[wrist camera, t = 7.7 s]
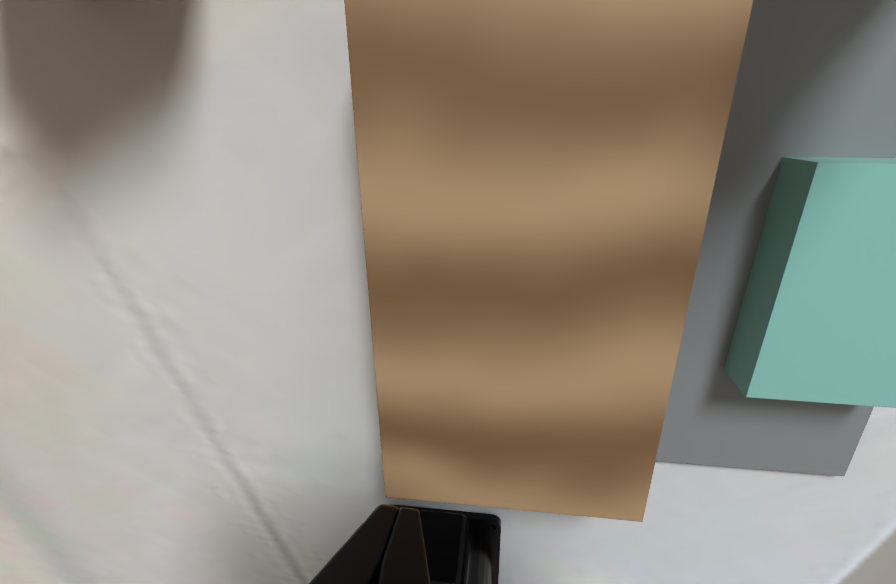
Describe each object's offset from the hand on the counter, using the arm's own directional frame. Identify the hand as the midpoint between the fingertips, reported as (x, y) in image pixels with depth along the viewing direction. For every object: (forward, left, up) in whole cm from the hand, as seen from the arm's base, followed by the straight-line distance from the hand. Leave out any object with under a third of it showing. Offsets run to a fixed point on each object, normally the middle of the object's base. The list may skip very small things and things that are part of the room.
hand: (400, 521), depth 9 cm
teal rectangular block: (+2, -15, -10) cm, 18 cm away
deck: (+2, -3, -12) cm, 12 cm away
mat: (+2, -13, -12) cm, 18 cm away
